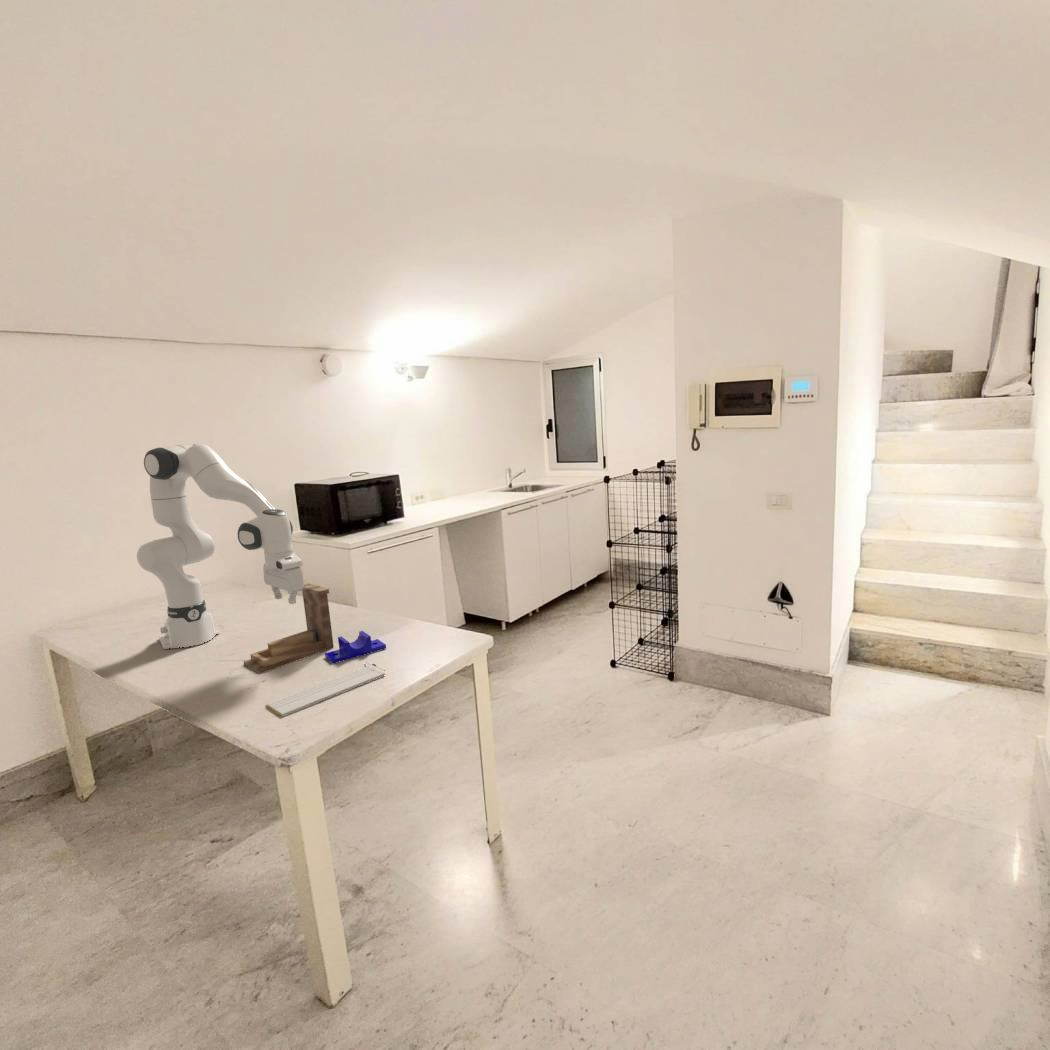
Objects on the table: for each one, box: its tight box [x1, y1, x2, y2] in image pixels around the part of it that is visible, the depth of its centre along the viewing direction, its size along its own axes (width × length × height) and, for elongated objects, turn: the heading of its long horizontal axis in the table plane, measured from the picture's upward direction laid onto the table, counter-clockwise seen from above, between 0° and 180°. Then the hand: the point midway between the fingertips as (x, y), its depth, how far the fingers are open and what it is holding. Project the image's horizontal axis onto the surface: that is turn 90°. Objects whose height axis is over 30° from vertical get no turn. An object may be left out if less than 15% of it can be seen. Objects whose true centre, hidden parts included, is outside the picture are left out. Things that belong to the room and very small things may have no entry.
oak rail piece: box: [266, 629, 317, 658], centre depth 198 cm, size 4×15×5 cm, turn 138°
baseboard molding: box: [265, 662, 386, 717], centre depth 170 cm, size 31×3×12 cm
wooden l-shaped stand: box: [243, 583, 335, 674], centre depth 196 cm, size 13×26×20 cm, turn 138°
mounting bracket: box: [324, 630, 387, 664], centre depth 196 cm, size 18×7×6 cm, turn 126°
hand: (285, 601), depth 195 cm, fingers open, 8 cm apart
